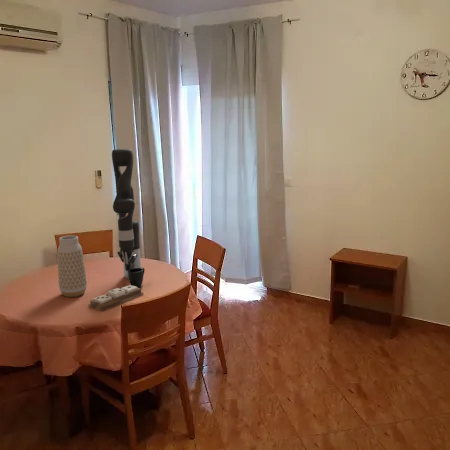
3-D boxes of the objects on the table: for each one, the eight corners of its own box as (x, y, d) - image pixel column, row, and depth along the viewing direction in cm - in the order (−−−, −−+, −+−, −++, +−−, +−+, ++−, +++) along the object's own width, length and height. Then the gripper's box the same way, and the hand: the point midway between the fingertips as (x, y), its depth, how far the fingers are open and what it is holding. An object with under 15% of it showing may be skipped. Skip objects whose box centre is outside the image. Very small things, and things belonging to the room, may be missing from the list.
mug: (150, 283, 237) (149, 266, 236) (138, 290, 227) (137, 273, 225) (138, 281, 241) (137, 265, 239) (125, 288, 230) (124, 271, 228)
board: (88, 306, 206) (88, 300, 205) (129, 290, 227) (128, 285, 226) (102, 311, 200) (102, 305, 199) (143, 294, 220) (143, 289, 220)
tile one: (121, 292, 219) (120, 287, 218) (130, 289, 224) (129, 284, 223) (129, 295, 215) (128, 290, 215) (137, 291, 220) (137, 286, 220)
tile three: (94, 303, 205) (93, 298, 205) (104, 299, 210) (103, 294, 210) (101, 305, 202) (101, 300, 201) (111, 301, 207) (111, 296, 206)
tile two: (107, 296, 212) (107, 291, 211) (117, 292, 217) (116, 287, 216) (115, 298, 209) (115, 293, 208) (125, 294, 213) (124, 289, 213)
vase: (61, 300, 214) (55, 242, 207) (58, 292, 226) (52, 236, 219) (89, 295, 220) (84, 238, 213) (85, 287, 232) (80, 233, 225)
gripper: (111, 237, 214) (114, 270, 218) (129, 241, 207) (131, 275, 211) (123, 234, 220) (125, 266, 224) (140, 238, 213) (142, 270, 217)
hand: (128, 270), depth 217 cm, fingers closed
